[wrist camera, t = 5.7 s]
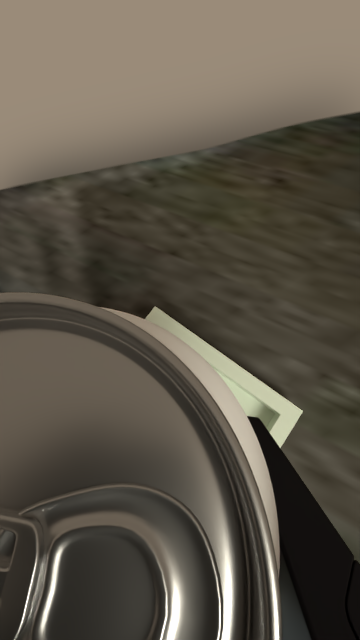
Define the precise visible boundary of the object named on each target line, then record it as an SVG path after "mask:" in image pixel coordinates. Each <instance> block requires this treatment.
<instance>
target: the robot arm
mask: <svg viewBox="0 0 360 640" xmlns="http://www.w3.org/2000/svg"><path fill="white" fill-rule="evenodd" d="M247 418H248V420H249V422H250V424H251V426H252V428H253V430H254V432H255V434H256V437H257V439H258V442H259V444H260V447H261V449H262V452H263V455H264V458H265V461H266V464H267V468H268V471H269V475H270V479H271V483H272V488H273V493H274V497H275V504H276V510H277V518H278V528H279V547H280V567H279V585H280V594H281V608H282V631H283V640H360V564H359V562H358V561H356V560H354V555H353V554H352V552H351V551H350V549H349V548H348V547H347V545H346V544H345V542H344V541H343V539H342V538H341V536H340V535H339V533H338V532H337V530H336V529H335V528H334V526H333V525H332V523H331V522H330V520H329V519H328V517H327V516H326V514H325V513H324V511H323V510H322V509H321V507H320V506H319V504H318V503H317V501H316V500H315V498H314V497H313V495H312V494H311V492H310V491H309V490H308V488H307V487H306V485H305V484H304V482H303V481H302V479H301V478H300V476H299V475H298V473H297V472H296V471H295V469H294V468H293V466H292V465H291V463H290V462H289V460H288V459H287V457H286V456H285V454H284V453H283V452H282V450H281V449H280V447H279V446H278V444H277V443H276V441H275V440H274V438H273V437H272V435H271V434H270V433H269V431H268V430H267V428H266V427H265V425H264V424H263V422H262V421H261V420H260V419H259V418H258V417H251V416H247Z"/></svg>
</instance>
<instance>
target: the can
mask: <svg viewBox="0 0 360 640" xmlns="http://www.w3.org/2000/svg"><path fill="white" fill-rule="evenodd" d="M279 567H280V547H279V528H278V518H277V510H276V504H275V497H274V493H273V488H272V483H271V479H270V475H269V471H268V468H267V464H266V461H265V458H264V455H263V452H262V449H261V447H260V444H259V442H258V439H257V437H256V434H255V432H254V430H253V428H252V426H251V424H250V422H249V420H248V418H247V416H246V414H245V412H244V410H243V408H242V407H241V405H240V403H239V402H238V400H237V399H236V397H235V396H234V394H233V393H232V391H231V390H230V388H229V387H228V386H227V384H226V383H225V382H224V380H223V379H222V378H221V377H220V375H219V374H218V373H217V372H216V371H215V370H214V369H213V367H212V366H211V365H210V364H209V363H208V362H207V361H206V360H205V359H204V358H203V357H202V356H201V355H199V354H198V353H197V352H196V351H195V350H194V349H193V348H191V347H190V346H189V345H188V344H186V343H185V342H184V341H182V340H181V339H179V338H178V337H176V336H175V335H173V334H172V333H170V332H169V331H167V330H165V329H163V328H162V327H160V326H158V325H156V324H154V323H152V322H150V321H147V320H145V319H142V318H140V317H137V316H134V315H132V314H129V313H125V312H122V311H118V310H113V309H108V308H103V307H97V306H94V305H92V304H89V303H85V302H82V301H79V300H75V299H71V298H67V297H61V296H56V295H49V294H41V293H27V292H7V293H0V640H283V631H282V608H281V594H280V585H279Z"/></svg>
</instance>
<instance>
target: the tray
mask: <svg viewBox="0 0 360 640" xmlns="http://www.w3.org/2000/svg"><path fill="white" fill-rule="evenodd" d="M145 320H147V321H150V322H152V323H154V324H156V325H158V326H160V327H162V328H163V329H165V330H167V331H169V332H170V333H172V334H173V335H175V336H176V337H178V338H179V339H181V340H182V341H184V342H185V343H186V344H188V345H189V346H190V347H191V348H193V349H194V350H195V351H196V352H197V353H198V354H199V355H201V356H202V357H203V358H204V359H205V360H206V361H207V362H208V363H209V364H210V365H211V366H212V367H213V369H214V370H215V371H216V372H217V373H218V374H219V375H220V377H221V378H222V379H223V380H224V382H225V383H226V384H227V386H228V387H229V388H230V390H231V391H232V393H233V394H234V396H235V397H236V399H237V400H238V402H239V403H240V405H241V407H242V408H243V410H244V412H245V414H246V416H251V417H258V418H259V419H260V420H261V421H262V422H263V424H264V425H265V427H266V428H267V430H268V431H269V433H270V434H271V435H272V437H273V438H274V440H275V441H276V443H277V444H278V446H279V447H280V448H281V446H282V444H283V443H284V441H285V440H286V438H287V436H288V435H289V433H290V432H291V430H292V428H293V427H294V425H295V423H296V422H297V420H298V419H299V417H300V415H301V414H302V412H303V411H302V410H301V409H299V408H298V407H296V406H295V405H294V404H292V403H291V402H289V401H288V400H287V399H285V398H284V397H282V396H281V395H279V394H278V393H277V392H275V391H274V390H272V389H271V388H270V387H268V386H267V385H265V384H264V383H263V382H261V381H260V380H258V379H257V378H256V377H254V376H253V375H251V374H250V373H249V372H247V371H246V370H244V369H243V368H241V367H240V366H239V365H237V364H236V363H234V362H233V361H232V360H230V359H229V358H227V357H226V356H225V355H223V354H222V353H220V352H219V351H218V350H216V349H215V348H213V347H212V346H210V345H209V344H208V343H206V342H205V341H203V340H202V339H201V338H199V337H198V336H196V335H195V334H194V333H192V332H191V331H189V330H188V329H187V328H185V327H184V326H182V325H181V324H179V323H178V322H177V321H175V320H174V319H172V318H171V317H170V316H168V315H167V314H165V313H164V312H163V311H161V310H160V309H158V308H157V307H156V306H155V307H154V308H153V309H152V311H151V312H150V313H149V314H148V316H147V317H146V318H145Z"/></svg>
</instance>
